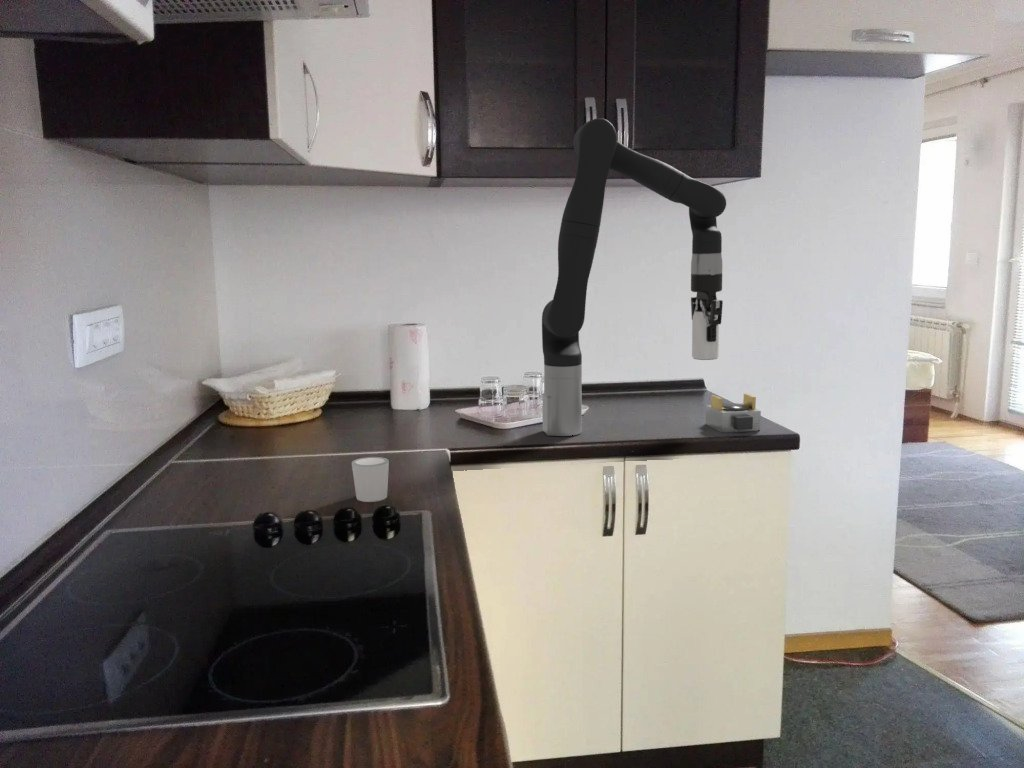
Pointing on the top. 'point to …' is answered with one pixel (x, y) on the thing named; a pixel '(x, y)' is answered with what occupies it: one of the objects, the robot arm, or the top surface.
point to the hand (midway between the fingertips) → (705, 339)
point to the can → (703, 339)
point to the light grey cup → (370, 478)
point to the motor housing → (733, 415)
